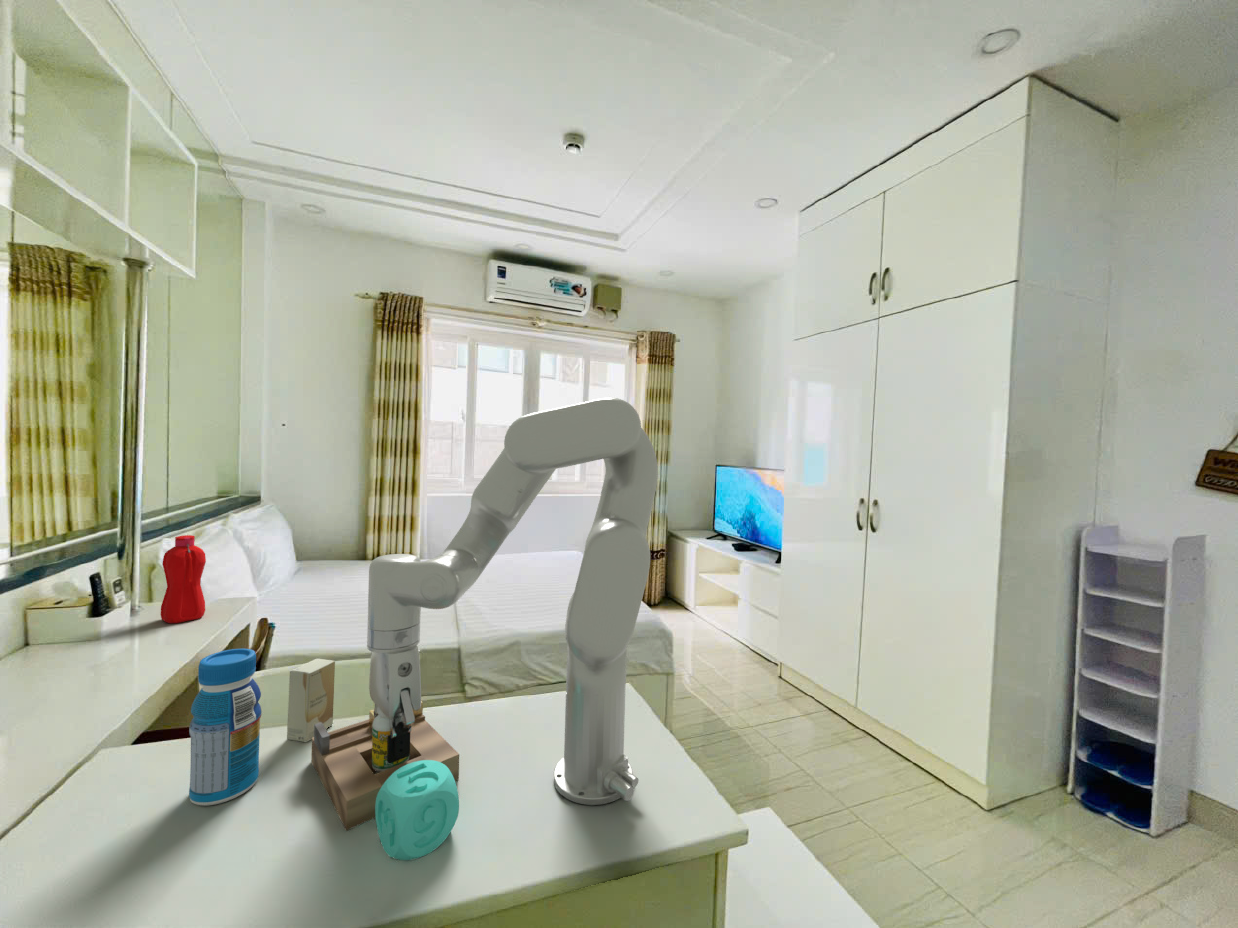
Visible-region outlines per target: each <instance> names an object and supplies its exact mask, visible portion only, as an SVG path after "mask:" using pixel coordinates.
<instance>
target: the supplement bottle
mask: <svg viewBox="0 0 1238 928" xmlns="http://www.w3.org/2000/svg"><path fill="white" fill-rule="evenodd" d="M400 711H401V708H399V709H397V710H395V712H394V713H397V712H400ZM377 713H378V716H377V717H376V718H375V719H374V721H373V725H372V768H373V769H374V770H375V771H376V773H379V772H382V771H384V770H387V769H389V768H392V767H394V766H397V765H399V764H402V763H404V762H407V761H408V760H409V756H408V757H405V758H403V759H400V760H398V761H395V762H392V763H388V761H387V737H388V736H389V735H390V726H389V718H388V717H387V716H385V714H384V713H383V712H382V711H381V710H380V709H379V707H378V708H377ZM401 720H402V717H399V718H396V719H395V723H396V726H397V724H398V723H399V722H401Z"/></svg>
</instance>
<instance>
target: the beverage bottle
mask: <svg viewBox="0 0 1238 928" xmlns="http://www.w3.org/2000/svg"><path fill="white" fill-rule="evenodd" d="M256 665H257V654H256V651H255V650H254V649H250V648H231V649H226V650H222V651H218V652H214V653H212V654H208V655H207V656H205V657H203V658H202V659H200V662H199V664H198V673H197V677H198V679H197V680H198V681H197V682H198V684H199V686H200V687H201V689H200V690H199V691H198V693H197V694H196V696H195V697H194V700H193V702H192V704H191V707H190V713H191V715H192V716H193V718H192V719H191V721H190V723H189V728H188V729H189V730H188V732H189V736H190V768H189V769H190V770H189V771H190V772H189V773H190V776H189V789H188V797H189V800H190V802H191V803H192V804H195V805H197V806H213V805H219V804H222V803H225V802H226V803H227V802H228V801H231V800H233V799H236V798H238V797H239V796H241V795H243V794H245V793H246V792H247V791H249V790H251V788H253V786H255V784H256V783H257V781H258V780H259V776H260V775H259V774H260V768H259V766H260V765H259V764H260V763H259V761H260V759H259V758H260V734H261V733H260V731H261V730H260V729H261V717H262V706H261V704H260V703H259V701H260V699H261V697H262V691H261V688H260V687H259V685H258V682H256V681H255V680H254V678H253V677H254V675H255V673H256V669H257V667H256Z"/></svg>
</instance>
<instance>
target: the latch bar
mask: <svg viewBox="0 0 1238 928" xmlns="http://www.w3.org/2000/svg"><path fill="white" fill-rule="evenodd" d="M412 709H413V708H412ZM423 710H424V702H423V701H422V700H421V707H420V709H419V710H414V709H413V713H414V718H415V717H418V716H421V715H424V713H423ZM368 715H369V716H368V717H369V718H368V719H369V726H370V727H371V728H372V725H373V721H374V719H375V717H374V709H371V710H369V714H368Z"/></svg>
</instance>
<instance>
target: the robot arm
mask: <svg viewBox="0 0 1238 928" xmlns="http://www.w3.org/2000/svg"><path fill="white" fill-rule="evenodd" d="M503 442H504V443H503V444H504V445H503V446H504V447H503V449H502V450H501V452H500V454H499V455H498V456H497V458H496V460H495V461H494V462H493V464H492V465H491V466H490V468H489V469H488V470H487V472H486V473H485V475H484V476H483V477H482V479H481V480H480V481H479V483H478V484H477V486H476V487H475V489H474V490H473V493H472V495H471V500H470V508H469V512H468V514H467V516H466V518H465V520H464V522H463V524H462V525H461V527H460V528H459V530H458V531H457V532H456V534H455V535H454V536H453V538H452V540H450V542H449V544H448V545H447V547H445V549H444V550H443V552H442V553H440V554H438V555H437V556H435V557H433V558H430V559H427V560H422V561H421V559H420V558H419V557H418V556H416V555H414V554H411V553H391V554H390V553H389V554H385V555H384V554H383V555H380V556H377V557H375V558H374V559H373V560H372V561H371V563H370V565H369V568H368V591H367V593H368V594H367V628H366V629H367V630H366V631H367V633H366V636H367V637H366V638H367V639H366V648H367V650H368V651H370V660H369V661H370V662H369V663H370V664H369V684H368V685H369V687H368V689H369V697H370V700H371V701H372V702H373V703H374V708H373V710H374V717H375V718H376V717H377V716H378V713H377V708H378V707H379V709H380V710H381V711H382V712H383V713H384V714H385V716H387V717H388V718H389V726H390V735H389V736H388V737H387V761H388V763H392V762H395V761H398V760H400V759H403V758H405V757H408V756H409V754H410V732H411V727H412V725H413V724H414V722H415V718H414V713H413V709H414V710H419V709H420V707H421V701H422V681H421V680H422V677H421V676H422V675H421V673H422V672H421V661H420V653H419V647H418V645H419V644H420V641H421V614H422V613H421V612H422V611H421V609H422V608H424V609H430V610H443V609H446V608H449V607H451V606H453V605H454V604H456V603H457V602H458V600H460V598H461V599H462V597H463V596H464V595H465V593H467V591H469V590H470V589H471V588H472V586H473V585H474V584H475V583H476V581H477V580H478V579H479V578H480V576H481V575H482V573H483V572H484V571H485V569H486V568H487V566H488V565H489V563H490V562H491V560H492V559H493V558H494V556H495V555H496V553H498V550H499V549H500V547H501V546H502V545H503V543H504V542H505V541H506V539H507V537H508V536H509V534H511V532H513V531H514V530H515V528H516V527H517V525H518V524H519V522H520V521H521V519H522V518H523V516H524V515H525V513H526V512H527V510H528V509H529V508H530V506H531V505H532V503H533V502H534V500H535V499H536V498H537V496H538V495H539V494H540V492H541V491H542V489H543V488H544V486H545V485H546V484H547V482H548V481H549V479H550V478H551V476H553V474H554V473H555V471H556V470H557V469H562V468H567V467H572V466H577V465H581V464H585V463H591V462H594V461H600V460H603V462H604V466H605V474H604V479H603V482H602V487H601V491H600V498H599V502H598V505H597V508H596V509H597V510H596V513H595V516H594V519H593V522H592V525H591V527H590V530H589V532H588V534H587V537H586V540H585V545H584V550H583V556H582V560H581V564H580V568H579V572H578V576H577V580H576V583H575V588H574V591H573V593H572V595H571V597H570V600H569V602H568V606H567V612H566V620H565V625H564V635H565V640H566V643H567V647H566V648H567V649H566V650H567V653H566V680H565V681H566V682H565V709H564V711H565V713H564V714H565V715H564V716H565V717H564V749H563V753H564V754H563V757H562V758H561V759H560V760H559V761H558V762H557V763H556V765H555V768H554V771H553V784H554V787H555V788H556V791H557V792H558V793H559V794H560V795H561V796H563V797H564V798H566V799H567V800H569V801H571V802H573V803H577V804H580V805H586V806H599V805H606V804H609V803H612V802H615V801H617V800H619V799H623V800H624V801H627V802H628V801H630V800H631V799H632V797H633V796H634V791H635V790H634V788H635V787H636V786H638V785H639V784H638V783H639V777H637V776H636V775H634V772H633V767H632V766H631V764H630V762H629V757H628V756H626V755H625V754H624V750H625V749H624V747H625V720H626V719H625V713H626V712H625V711H626V687H627V686H626V685H627V684H626V683H627V659H628V658H627V651H628V649H627V648H629V645H630V642H631V640H632V636H633V633H634V631H635V627H636V623H637V619H638V616H639V613H640V608H641V604H642V601H643V597H644V593H645V590H646V585H647V582H648V578H649V572H650V566H651V549H650V548H651V547H650V545H649V542H648V540H647V531H648V528H649V521H650V518H651V513H652V510H653V505H654V499H655V496H656V492H657V491H656V490H657V487H658V485H657V484H658V477H659V466H658V460H657V456H656V455H657V454H656V451H655V449H654V446H653V444H652V441H651V439H650V438H649V436H648V434H647V433H646V431H645V430H644V429H643V428H642V423H641V419H640V415H639V413H638V411H637V410H636V409H635V407H634V406H633V405H631V404H630V403H629V402H627V401H626V400H625V399H621V398H618V397H603V398H597V399H592V400H589V401H585V402H584V401H583V402H579V403H576V404H571V405H565V406H561V407H556V408H552V409H546V410H541V411H537V412H531V413H528V414H524V415H522V416H520V417H518V418H517V419H516V420H514V421H513V422H512V423H511V425H509V427H508V429H507V430H506V433H505V436H504V440H503ZM399 708H401V711H400V712H397V713H394V712H395V710H397V709H399ZM412 708H413V709H412ZM399 717H402V720H401V722H399V723H398V724H397V726H396V723H395V719H396V718H399Z"/></svg>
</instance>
